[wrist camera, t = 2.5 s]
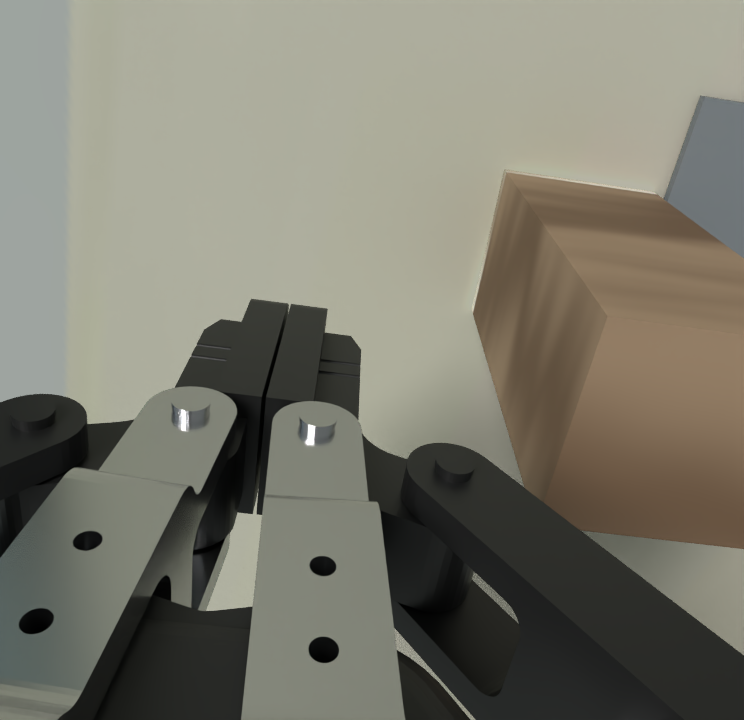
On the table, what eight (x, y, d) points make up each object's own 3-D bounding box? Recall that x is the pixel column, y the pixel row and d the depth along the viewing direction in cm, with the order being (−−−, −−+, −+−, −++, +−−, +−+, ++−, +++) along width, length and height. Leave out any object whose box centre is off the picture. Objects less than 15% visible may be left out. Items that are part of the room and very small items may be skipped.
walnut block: (504, 169, 20) (607, 316, 11) (653, 191, 20) (870, 352, 11) (471, 309, 22) (535, 524, 13) (606, 327, 22) (757, 550, 13)
